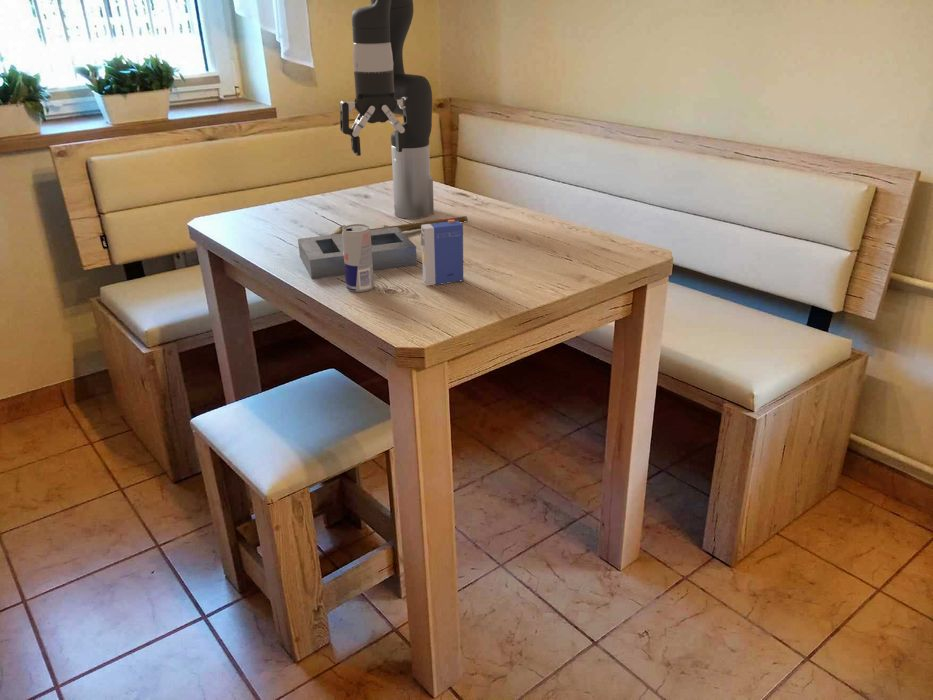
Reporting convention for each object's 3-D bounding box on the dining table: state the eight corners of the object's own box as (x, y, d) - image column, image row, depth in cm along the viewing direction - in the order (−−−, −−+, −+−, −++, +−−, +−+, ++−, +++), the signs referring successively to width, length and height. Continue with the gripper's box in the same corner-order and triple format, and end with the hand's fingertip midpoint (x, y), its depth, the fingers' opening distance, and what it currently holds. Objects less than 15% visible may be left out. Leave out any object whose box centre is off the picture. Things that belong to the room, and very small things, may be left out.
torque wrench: (460, 225, 186) (470, 231, 183) (328, 243, 169) (336, 251, 165) (461, 206, 184) (471, 213, 180) (327, 223, 166) (336, 231, 163)
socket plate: (398, 244, 168) (397, 226, 167) (416, 264, 157) (416, 246, 155) (299, 256, 161) (297, 238, 160) (311, 278, 150) (309, 260, 148)
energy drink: (347, 282, 148) (342, 224, 142) (374, 281, 148) (370, 223, 143) (345, 293, 143) (340, 232, 138) (373, 292, 143) (369, 232, 138)
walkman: (458, 276, 151) (458, 218, 145) (463, 281, 148) (463, 222, 143) (421, 281, 148) (419, 223, 143) (425, 286, 146) (423, 227, 140)
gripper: (403, 64, 149) (407, 146, 156) (332, 67, 144) (339, 152, 152) (414, 68, 143) (417, 154, 150) (341, 72, 138) (347, 160, 146)
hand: (378, 153), depth 151 cm, fingers open, 8 cm apart
